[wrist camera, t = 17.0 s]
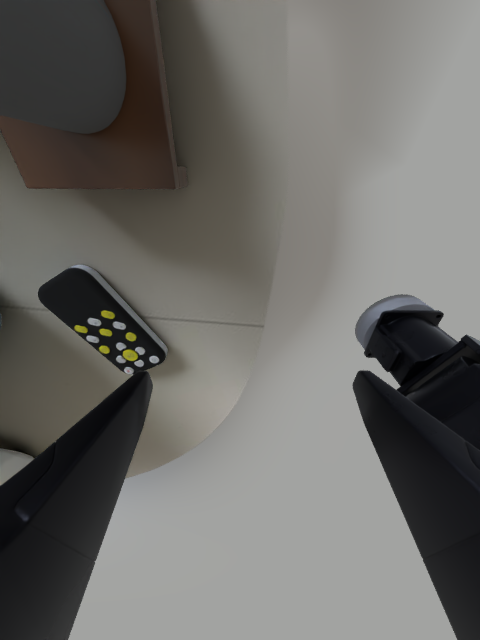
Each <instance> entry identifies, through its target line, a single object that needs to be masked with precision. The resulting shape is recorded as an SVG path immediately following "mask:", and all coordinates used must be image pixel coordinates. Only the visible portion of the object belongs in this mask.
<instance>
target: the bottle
mask: <svg viewBox="0 0 480 640" xmlns="http://www.w3.org/2000/svg"><path fill="white" fill-rule="evenodd" d="M125 91H126V67H125V57H124V53H123V48H122V44H121V40H120V37H119V33H118V30H117V28H116V25H115V23H114V20H113V18H112V15H111V13H110V11H109V9H108V7H107V6H106V4H105V2H104V0H0V115H2V116H6V117H10V118H14V119H18V120H22V121H26V122H30V123H35V124H39V125H43V126H47V127H51V128H55V129H60V130H64V131H69V132H75V133H81V134H90V133H95V132H98V131H101V130H103V129H105V128H106V127H108V126H109V125H110V124H111V123H112V122H113V121H114V120H115V118H116V117H117V116H118V114H119V112H120V110H121V107H122V104H123V100H124V97H125Z"/></svg>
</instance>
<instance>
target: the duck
mask: <svg viewBox="0 0 480 640" xmlns="http://www.w3.org/2000/svg"><path fill="white" fill-rule="evenodd" d="M32 460H34V458H33V457H32V456H30V455H27V454H25V453H21V452H17V451H12V450H7V449H2V448H0V486H1V485H2V484H3V483H4V482H6V481H7V480H8V479H10V478H11V477H12V476H13V475H15V474H16V473H17V472H19V471H20V470H21V469H22V468H24V467H25V466H26V465H27V464H29V463H30V462H31V461H32Z"/></svg>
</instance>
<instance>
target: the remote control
mask: <svg viewBox="0 0 480 640" xmlns="http://www.w3.org/2000/svg"><path fill="white" fill-rule="evenodd" d="M38 297H39V300H40V301H41V303H42V304H43V305H44V306H45V307H46V308H47V309H49V310H50V311H51V312H52V313H53V314H55V315H56V316H57V317H58V318H59V319H60V320H62V321H63V322H64V323H65V324H66V325H68V326H69V327H70V328H71V329H72V330H74V331H75V332H76V333H77V334H78V335H79V336H81V337H82V338H83V339H84V340H85V341H87V342H88V343H89V344H90V345H91V346H93V347H94V348H95V349H96V350H97V351H99V352H100V353H101V354H102V355H103V356H104V357H106V358H107V359H108V360H109V361H110V362H112V363H113V364H114V365H115V366H116V367H118V368H119V369H120V370H121V371H123V372H125V373H127V374H135V373H136V372H138V371H145V370H147V369H150V368H152V367H155V366H157V365H159V364H161V363H163V361H164V360H165V358H166V356H167V353H168V350H167V347H166V345H165V344H164V343H163V342H162V341H161V340H160V339H159V338H158V336H157V335H156V334H155V333H154V332H153V331H152V330H151V329H150V328H149V327H148V326H147V325H146V324H145V323H144V321H143V320H142V319H141V318H140V317H139V316H138V315H137V314H136V313H135V312H134V311H133V310H132V309H131V308H130V307H129V305H128V304H127V303H126V302H125V301H124V300H123V299H122V298H121V297H120V296H119V295H118V294H117V293H116V292H115V291H114V289H113V288H112V287H111V286H110V285H109V284H108V283H107V282H106V281H105V280H104V279H103V278H102V277H101V276H100V274H99V273H98V272H96V271H95V270H94V269H92V268H91V267H88V266H86V265H74V266H72V267H70V268H68V269H66V270H65V271H63V272H62V273H60V274H58V275H57V276H55V277H54V278H52V279H51V280H49V281H48V282H46V283H45V284H43V285H42V286H41V287H40V288H39V290H38Z"/></svg>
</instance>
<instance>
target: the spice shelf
mask: <svg viewBox="0 0 480 640" xmlns="http://www.w3.org/2000/svg"><path fill="white" fill-rule="evenodd" d="M104 2H105V4H106V6H107V7H108V9H109V11H110V13H111V15H112V18H113V20H114V23H115V25H116V28H117V30H118V33H119V37H120V40H121V44H122V48H123V53H124V57H125V67H126V91H125V97H124V100H123V104H122V107H121V110H120V112H119V114H118V116H117V117H116V118H115V120H114V121H113V122H112V123H111V124H110V125H109V126H108V127H106V128H105V129H103V130H101V131H98V132H95V133H90V134H81V133H75V132H69V131H64V130H60V129H55V128H51V127H47V126H43V125H39V124H35V123H30V122H26V121H22V120H18V119H14V118H10V117H6V116H2V115H0V130H1V132H2V135H3V137H4V139H5V141H6V143H7V145H8V148H9V150H10V152H11V154H12V156H13V158H14V161H15V163H16V165H17V167H18V169H19V171H20V174H21V176H22V178H23V180H24V182H25V184H26V187H27V188H38V189H178V188H183V187H187V186H188V179H187V170H186V167H181V166H177V162H176V154H175V146H174V138H173V131H172V123H171V115H170V107H169V99H168V91H167V83H166V76H165V68H164V60H163V52H162V44H161V36H160V29H159V21H158V13H157V5H156V0H104Z"/></svg>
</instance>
